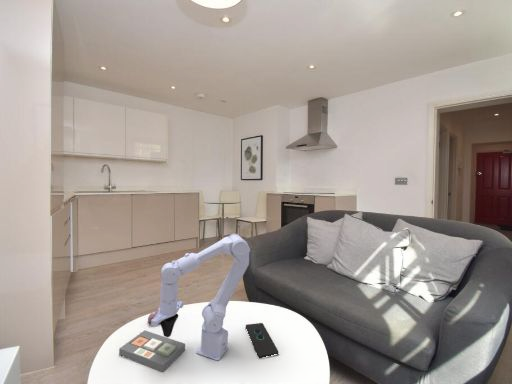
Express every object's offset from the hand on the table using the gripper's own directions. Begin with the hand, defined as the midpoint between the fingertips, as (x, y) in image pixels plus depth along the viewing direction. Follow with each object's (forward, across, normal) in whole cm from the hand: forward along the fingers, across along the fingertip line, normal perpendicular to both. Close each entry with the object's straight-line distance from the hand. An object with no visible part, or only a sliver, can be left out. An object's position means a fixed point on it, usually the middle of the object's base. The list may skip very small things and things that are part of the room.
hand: (167, 335), depth 92 cm
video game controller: (+8, -17, -17) cm, 25 cm away
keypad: (+8, 0, -6) cm, 10 cm away
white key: (+6, 0, -6) cm, 9 cm away
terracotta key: (+7, 0, -12) cm, 14 cm away
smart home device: (+9, -24, +27) cm, 37 cm away
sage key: (+6, 0, 0) cm, 6 cm away
